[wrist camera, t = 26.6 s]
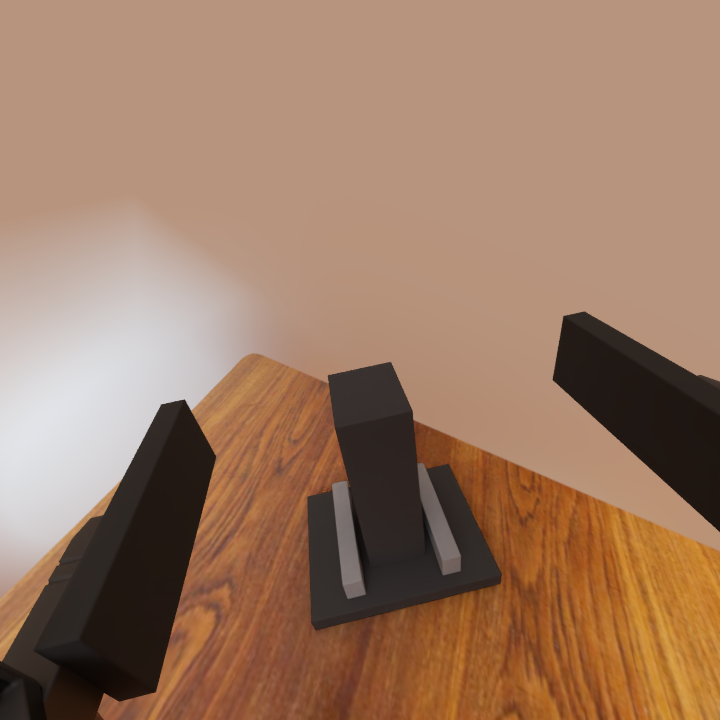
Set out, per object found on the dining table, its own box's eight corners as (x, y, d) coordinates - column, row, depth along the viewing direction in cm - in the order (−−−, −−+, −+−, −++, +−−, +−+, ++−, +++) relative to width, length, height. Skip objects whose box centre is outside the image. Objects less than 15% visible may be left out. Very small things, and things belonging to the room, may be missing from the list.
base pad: (448, 472, 40) (448, 448, 38) (500, 583, 30) (503, 559, 28) (310, 504, 39) (302, 482, 37) (315, 630, 29) (304, 609, 27)
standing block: (407, 497, 36) (390, 361, 27) (425, 554, 31) (412, 410, 22) (360, 509, 36) (327, 375, 27) (371, 568, 31) (334, 428, 22)
